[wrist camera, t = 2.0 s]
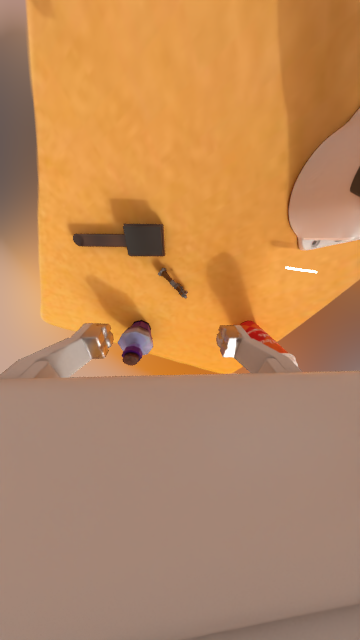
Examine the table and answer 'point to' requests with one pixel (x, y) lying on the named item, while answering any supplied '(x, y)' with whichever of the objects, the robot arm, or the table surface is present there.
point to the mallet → (129, 239)
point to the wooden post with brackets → (173, 283)
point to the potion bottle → (136, 342)
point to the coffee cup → (264, 338)
